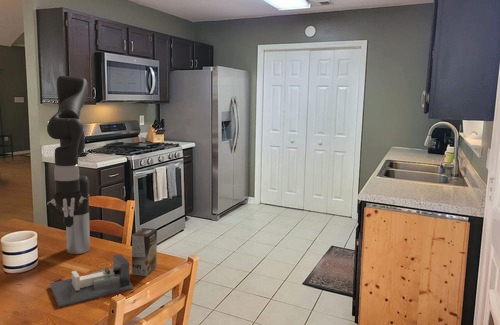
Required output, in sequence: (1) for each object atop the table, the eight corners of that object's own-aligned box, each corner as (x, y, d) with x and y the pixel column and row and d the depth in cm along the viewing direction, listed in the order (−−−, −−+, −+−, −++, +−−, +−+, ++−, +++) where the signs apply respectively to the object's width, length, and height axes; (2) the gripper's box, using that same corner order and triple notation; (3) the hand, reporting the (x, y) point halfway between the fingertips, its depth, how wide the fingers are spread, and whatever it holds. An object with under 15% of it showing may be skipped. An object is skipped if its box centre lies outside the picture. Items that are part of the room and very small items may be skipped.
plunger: (71, 284, 134) (71, 271, 133) (110, 275, 142) (110, 263, 141) (75, 290, 130) (75, 277, 129) (115, 281, 138) (115, 268, 137)
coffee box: (146, 276, 146) (147, 236, 144) (131, 274, 147) (131, 234, 145) (157, 266, 155) (157, 229, 153) (142, 265, 156) (142, 227, 154)
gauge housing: (49, 287, 135) (49, 264, 134) (118, 271, 149) (118, 251, 148) (58, 307, 122) (57, 282, 121) (132, 288, 136) (132, 266, 135)
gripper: (85, 173, 135) (86, 220, 138) (43, 176, 128) (45, 226, 131) (90, 178, 129) (91, 226, 132) (46, 181, 122) (48, 233, 125)
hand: (68, 226), depth 132 cm, fingers closed
